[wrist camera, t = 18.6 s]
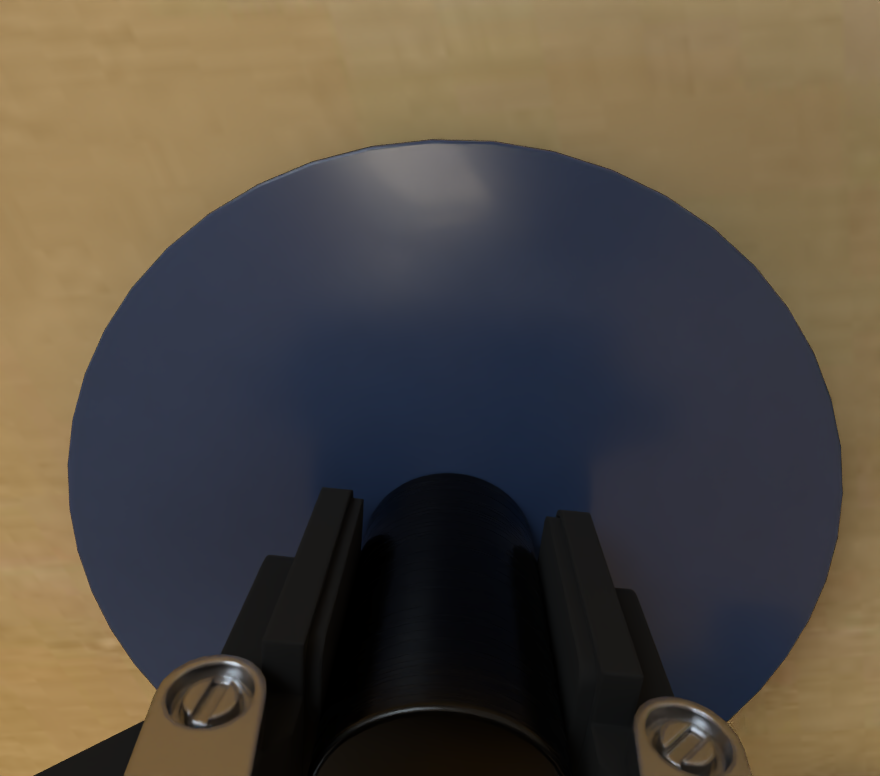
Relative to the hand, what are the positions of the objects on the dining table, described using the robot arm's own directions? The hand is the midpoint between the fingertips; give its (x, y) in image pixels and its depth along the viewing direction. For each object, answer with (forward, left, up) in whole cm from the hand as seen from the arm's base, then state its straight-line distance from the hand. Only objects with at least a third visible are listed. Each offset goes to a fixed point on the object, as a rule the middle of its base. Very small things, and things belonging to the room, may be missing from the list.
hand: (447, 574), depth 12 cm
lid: (0, 0, -1) cm, 1 cm away
